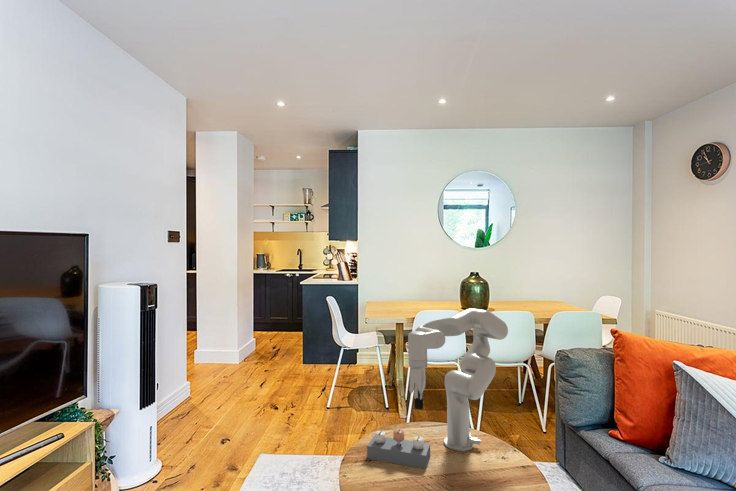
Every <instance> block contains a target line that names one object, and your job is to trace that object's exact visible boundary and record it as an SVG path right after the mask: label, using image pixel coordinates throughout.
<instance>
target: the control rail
mask: <svg viewBox="0 0 736 491" xmlns="http://www.w3.org/2000/svg"><path fill="white" fill-rule="evenodd" d="M366 453H367V454H366V459H367V460H374V461H380V462H383V463H384V462H385V463H391V464H397V465H401V466H409V467H413V468H418V469H424V470H425V469H427V467H428V464H429V461H430V458H431V443H427V442H424V448H423V449H415V448H413V440H407V439H404V440H403V441H400V446H397V441H395V440H394V439H393V437H388V436H385V442H384V443H376V442H375V434H374V435H373V436H372V439H371V440H370V441H369V442H368V444H367V445H366Z"/></svg>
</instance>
